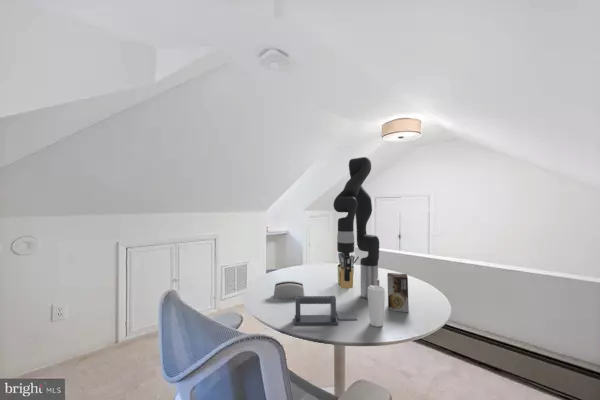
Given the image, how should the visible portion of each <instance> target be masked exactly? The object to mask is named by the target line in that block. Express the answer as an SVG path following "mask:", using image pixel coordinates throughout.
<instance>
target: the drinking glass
mask: <svg viewBox="0 0 600 400" xmlns="http://www.w3.org/2000/svg"><path fill="white" fill-rule="evenodd" d="M385 297H386V295H385V287H382V285H381V286H380V285H379V286H369V287H368V299H367V305H368V314H369V324H370V325H371V326H373V327H376V328H379V327H382V326H383V325H384V311H385V300H386V299H385Z"/></svg>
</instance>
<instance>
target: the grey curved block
mask: <svg viewBox="0 0 600 400" xmlns="http://www.w3.org/2000/svg"><path fill="white" fill-rule="evenodd" d="M296 296H305V290H304V285H303V282H301V281H295V280H284V281H279V282H276V283H275V284H274V292H273V298H274V299H292V298H293V299H296Z"/></svg>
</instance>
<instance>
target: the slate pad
mask: <svg viewBox="0 0 600 400" xmlns="http://www.w3.org/2000/svg"><path fill="white" fill-rule="evenodd" d="M336 317H337V320H338V321H358V317H357V315H356V314H355V311H354V310H343V311H342V310H340V311H339V310H336Z"/></svg>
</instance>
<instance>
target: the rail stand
mask: <svg viewBox="0 0 600 400" xmlns="http://www.w3.org/2000/svg"><path fill="white" fill-rule="evenodd" d="M301 305H330V307H329V308H330V309H329V311H330V314H301ZM336 311H337V298H336V295H321V296H320V295H316V296H315V295H308V296H307V295H306V296H305V295H304V296H296V298H295V315H294V320H293V321H294V323H293V325H294V326H338V325H339V320H338V317H337V313H336Z"/></svg>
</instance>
